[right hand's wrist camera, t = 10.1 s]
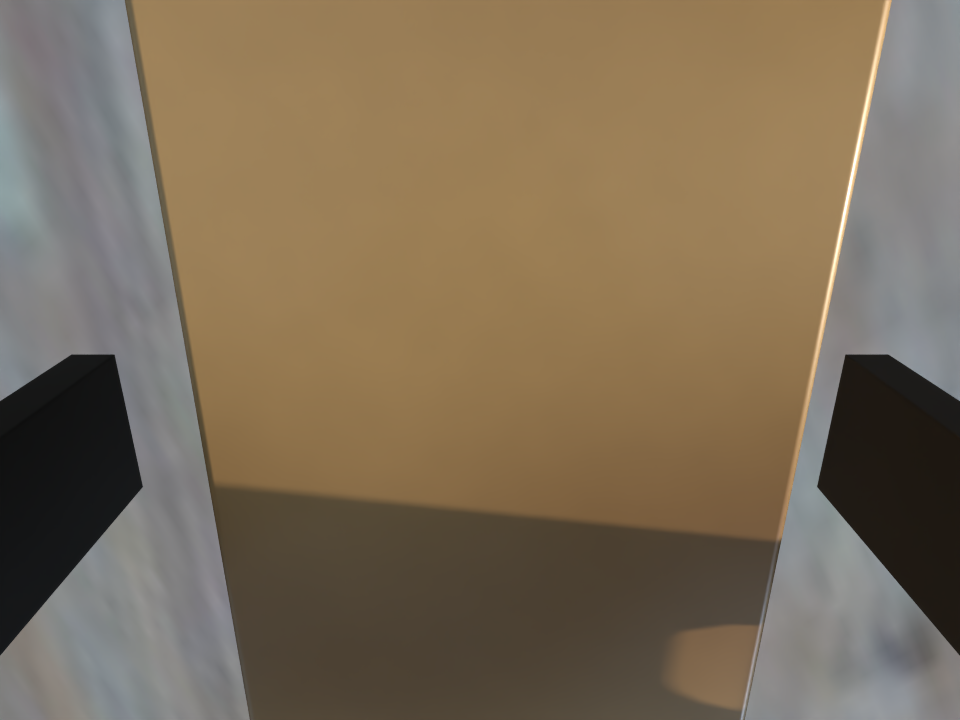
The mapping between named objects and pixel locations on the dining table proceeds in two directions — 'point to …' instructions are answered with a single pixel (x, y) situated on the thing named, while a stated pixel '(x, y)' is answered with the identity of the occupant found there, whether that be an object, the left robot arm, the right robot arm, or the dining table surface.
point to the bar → (503, 334)
